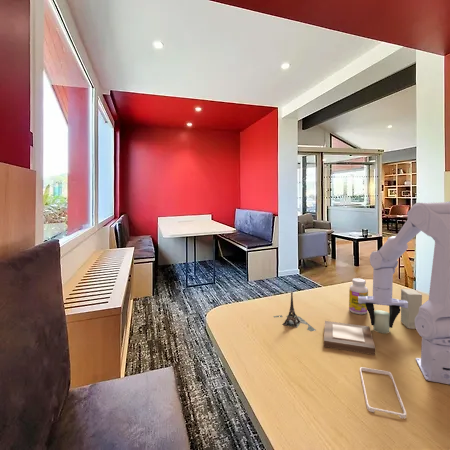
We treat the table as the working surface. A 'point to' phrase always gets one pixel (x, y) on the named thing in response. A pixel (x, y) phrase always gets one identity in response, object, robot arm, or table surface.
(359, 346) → the walnut base
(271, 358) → the table surface
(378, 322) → the sage cylinder
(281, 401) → the table surface
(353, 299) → the supplement bottle
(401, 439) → the table surface
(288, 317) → the eiffel tower figurine
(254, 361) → the table surface
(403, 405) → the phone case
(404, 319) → the skincare box
